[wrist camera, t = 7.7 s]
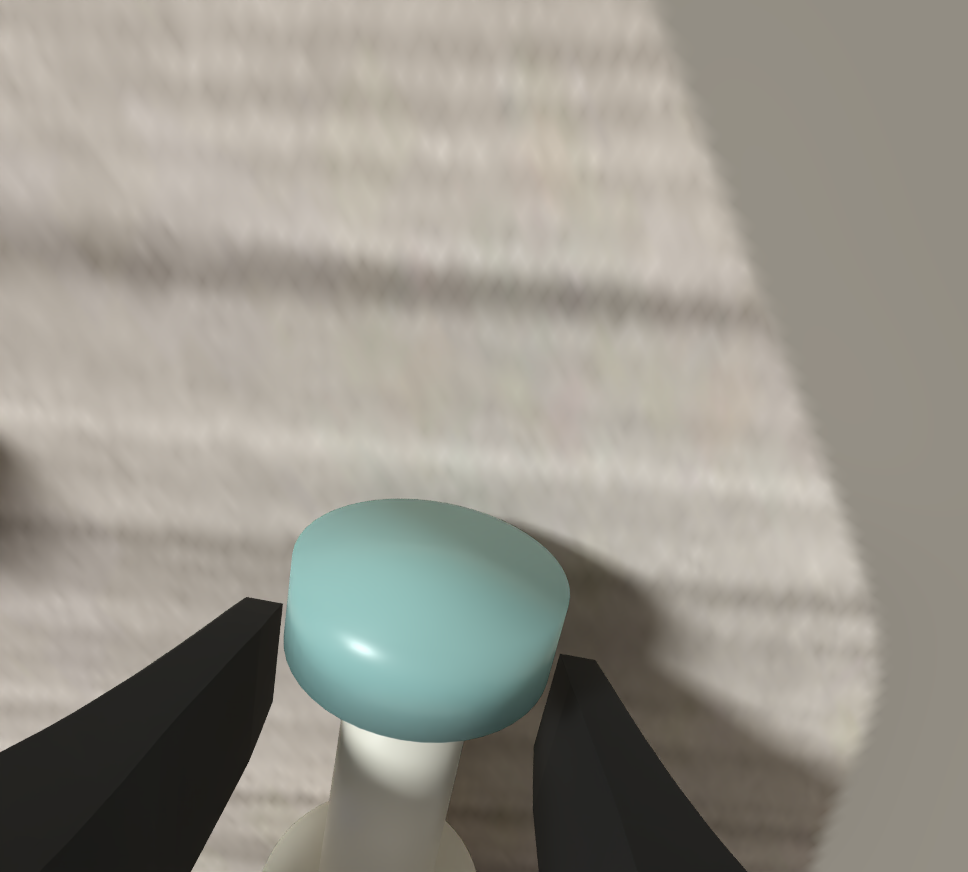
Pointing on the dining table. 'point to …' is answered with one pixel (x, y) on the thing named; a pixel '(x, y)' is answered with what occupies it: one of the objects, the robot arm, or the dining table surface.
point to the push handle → (411, 669)
